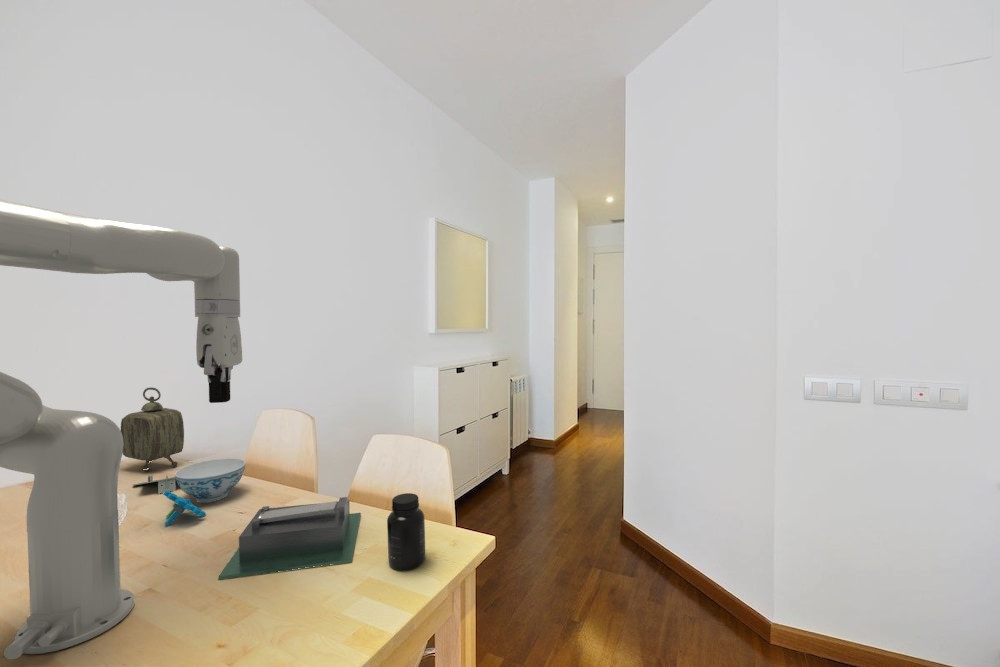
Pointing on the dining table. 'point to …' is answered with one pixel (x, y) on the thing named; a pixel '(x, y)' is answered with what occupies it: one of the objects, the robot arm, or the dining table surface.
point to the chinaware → (210, 478)
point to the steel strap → (298, 512)
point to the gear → (180, 507)
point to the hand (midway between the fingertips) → (219, 401)
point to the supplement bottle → (406, 533)
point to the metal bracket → (165, 482)
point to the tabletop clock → (152, 432)
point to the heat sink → (294, 542)
